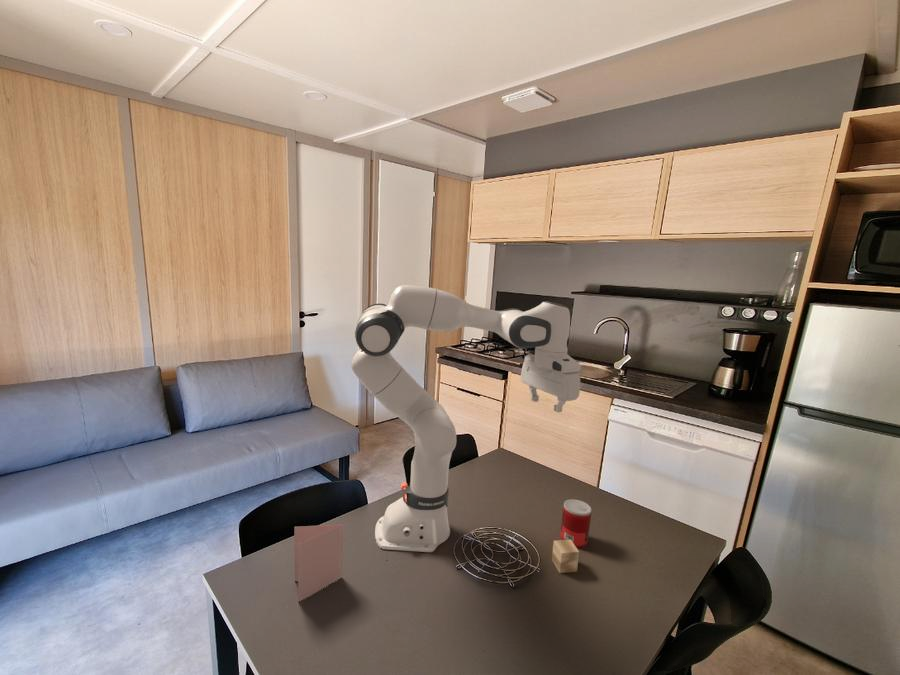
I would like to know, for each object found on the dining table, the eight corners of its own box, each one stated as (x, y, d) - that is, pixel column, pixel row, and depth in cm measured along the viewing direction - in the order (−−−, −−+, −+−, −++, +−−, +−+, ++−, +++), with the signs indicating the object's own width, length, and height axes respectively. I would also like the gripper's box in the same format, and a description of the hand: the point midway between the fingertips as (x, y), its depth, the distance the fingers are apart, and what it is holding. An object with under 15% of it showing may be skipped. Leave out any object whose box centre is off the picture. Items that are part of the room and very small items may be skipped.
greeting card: (342, 575, 101) (343, 521, 99) (339, 599, 94) (340, 542, 91) (295, 578, 99) (295, 524, 96) (288, 603, 92) (288, 545, 89)
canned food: (591, 548, 116) (595, 514, 115) (563, 547, 116) (567, 513, 115) (582, 532, 124) (586, 499, 122) (557, 530, 124) (561, 498, 122)
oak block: (559, 573, 106) (561, 553, 105) (551, 559, 111) (553, 540, 110) (576, 571, 107) (579, 551, 106) (568, 558, 112) (570, 539, 111)
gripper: (517, 352, 119) (514, 396, 122) (569, 368, 102) (563, 419, 104) (533, 351, 122) (529, 394, 125) (586, 366, 105) (580, 416, 107)
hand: (545, 406), depth 114 cm, fingers open, 8 cm apart
